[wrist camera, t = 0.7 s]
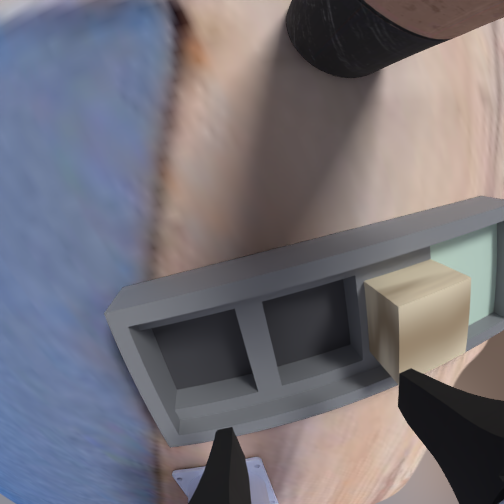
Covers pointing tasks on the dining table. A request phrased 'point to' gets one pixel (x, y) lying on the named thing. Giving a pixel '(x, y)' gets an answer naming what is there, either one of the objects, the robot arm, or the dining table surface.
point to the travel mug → (379, 30)
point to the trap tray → (292, 321)
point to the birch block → (418, 317)
